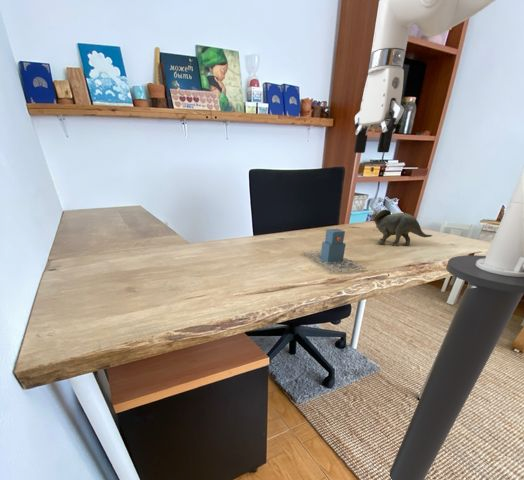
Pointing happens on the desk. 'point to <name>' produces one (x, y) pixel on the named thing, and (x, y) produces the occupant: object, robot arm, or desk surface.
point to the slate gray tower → (333, 246)
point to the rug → (335, 263)
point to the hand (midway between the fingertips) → (370, 152)
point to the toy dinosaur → (396, 225)
